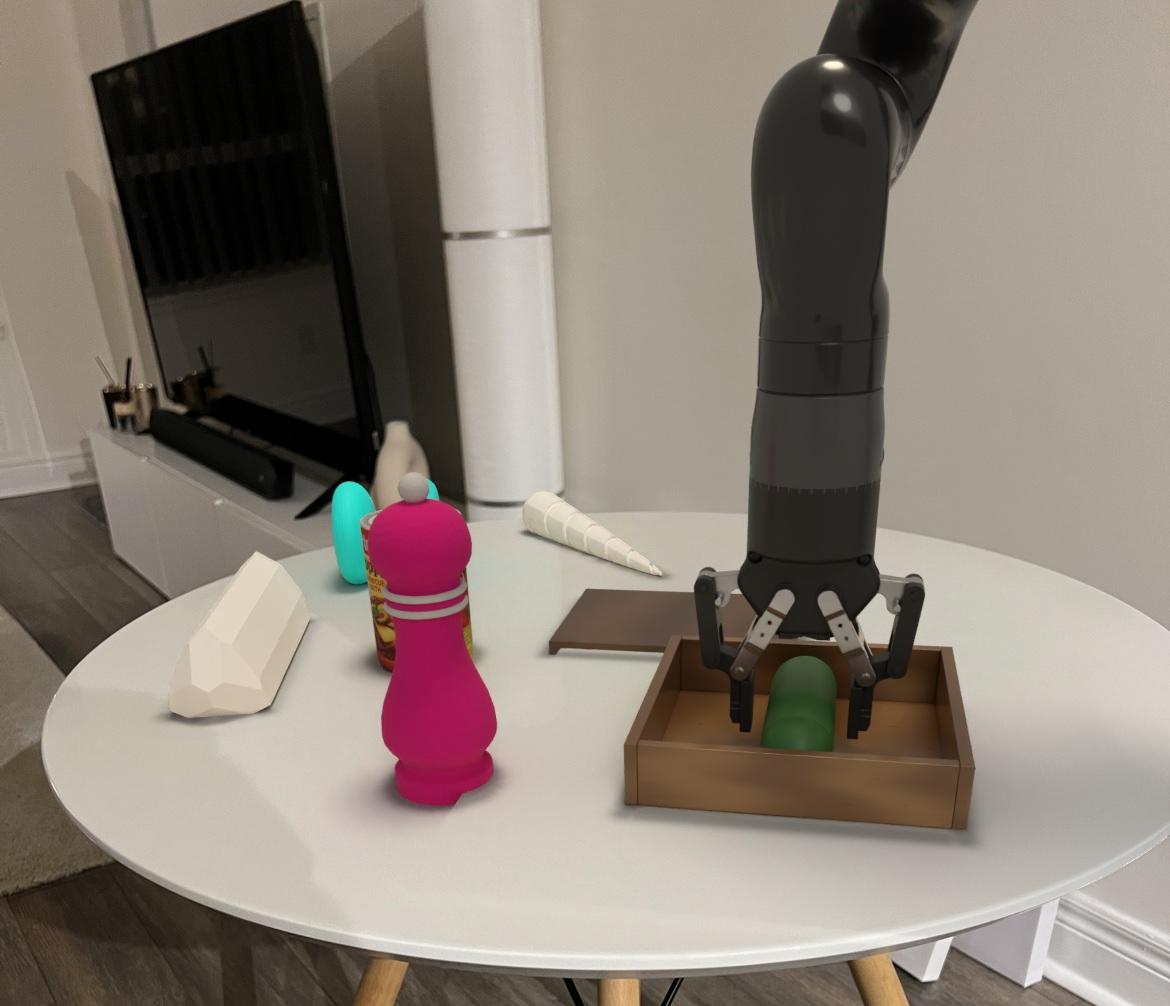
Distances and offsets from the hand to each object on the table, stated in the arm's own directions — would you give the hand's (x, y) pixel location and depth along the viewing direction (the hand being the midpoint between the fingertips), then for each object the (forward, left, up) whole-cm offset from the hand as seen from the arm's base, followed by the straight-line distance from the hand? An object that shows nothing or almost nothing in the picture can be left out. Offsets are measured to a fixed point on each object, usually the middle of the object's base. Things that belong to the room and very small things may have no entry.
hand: (799, 730), depth 71 cm
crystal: (+45, -11, -2) cm, 47 cm away
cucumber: (0, 0, -1) cm, 1 cm away
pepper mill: (+22, +7, -2) cm, 23 cm away
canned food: (+31, -14, -2) cm, 34 cm away
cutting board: (+11, -23, -2) cm, 26 cm away
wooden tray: (0, 0, -2) cm, 2 cm away
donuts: (+42, -35, -2) cm, 55 cm away
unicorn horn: (+24, -47, -2) cm, 53 cm away
